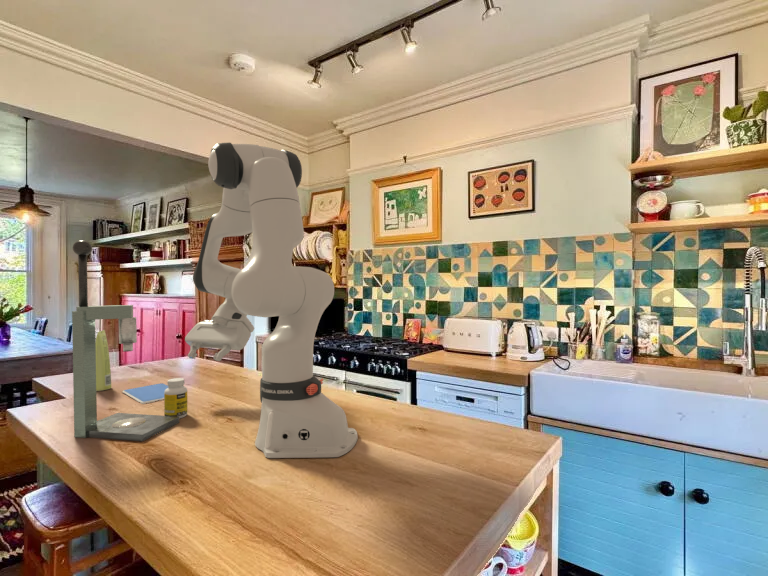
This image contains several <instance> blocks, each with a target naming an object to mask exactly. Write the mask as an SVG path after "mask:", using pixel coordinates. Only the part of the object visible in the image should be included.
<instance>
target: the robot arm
mask: <svg viewBox="0 0 768 576" xmlns="http://www.w3.org/2000/svg"><path fill="white" fill-rule="evenodd" d="M207 165H208V171H209V173H210V177H211V179H212V181H213V182H214V183H215V184H216V185H217V186H218V187H221V188H222V198H221V201H222V202H221V206H220V209H219V211H218V212H216V213H214V214H213V215H211V216H210V218H209V220H208V222H207V225H206V227H205V231H204V234H203V239H202V245H201V248H200V252H199V256H198V261H197V264H196V266H195V269H194V272H193V275H192V280H193V284H194V285H195V288H197V289H196V290H198V291H199V292H203V293H207V294H213V295H215V296H218V297H222V298H225V299H224V301H223V303H221V304H220V305H219V307H217V310H216V311H215V312H214V314H213V315H212V316H211V318H210V319H209V320H208V319H204V320H203V321H200V322H197V323H196V324H195V325H194V326H193V327H192V328H191V329H190V331H189V332H188V333H187V334H186V335H185V337H184V341H185V343H186V344H187V345H188V346H189V347H190V350H189V352H188V354H187V357H188V359H191V360H194V359H196V357H197V356H198V353H197V350H199V349H200V348H203V349H205V348H206V349H218V350H219V351H218V352H215V353H214V355H213V357H212V358H213V360H214V361H217V362H221V361H222V359H223V357H225V356H226V355H228V354H229V353H230V352H231V351H232V350H233V351H236V350H237V351H242V350H243V349H244V348H245V347H246V346H247V343H248V342H249V340H250V337H251V336H252V333H253V332H254V330H255V327H254V325H253V324H252V322H251V320H250V319H249V318H248V317H247V316H252V317H259V318H272V317H278V321H277V323H276V326H275V328H274V329H273V331H272V332H271V333H270V334H269V335H268V336H266V338H265V339H264V341H263V342H262V343H263V344H262V345H261V375H262V376H261V378H260V380H259V381H260V385H259V386H260V387H259V398H260V403H261V406H260V407H261V408H260V419H259V425H258V428H257V429H258V430H257V434H256V438H255V441H254V446H255V447H256V448H257V449H258V450H261V452H263V454H264V456H265V458H266V459H267V458H268V459H291V458H292V459H293V458H294V459H296V458H297V459H299V458H303V459H306V458H310V459H311V458H339V457H341V456H343V455H344V456H345V455H346V454H347V453H348V452H350V451H351V450H352V449H353V448H354V447H355V446H356V444H357V442H358V431H357V430H356V429H355V428H353V427H349V425H348V418H347V415H346V412H345V410H344V409H343V408H342V407H341V406H340V405H338V404H337V403H335V401H333V400H331V399H330V398H329V397H328V396H326V395H325V394H324V393H322V384H324V378H321V379H319V378H317V377H316V376H315V375H314V343H315V338H316V337H315V336H316V332H317V330H318V326H319V323H320V320H321V318H322V315H323V314H324V312H325V310H326V309H327V308H328V307H329V305H331V303H332V301H333V299H334V296H335V284H334V282H333V278H332V277H331V276H330V275H329V274H328V273H327V272H325V271H323V270H321V269H319V268H315V267H311V266H297V265H296V266H294V265H293V262H292V261H293V260H292V259H293V252H294V249H295V248H296V247H297V246H299V245H300V244H301V243H302V242H303V240H304V238H305V229H304V223H303V216H302V211H301V203H300V197H299V193H298V187H300V184H301V182H302V176H303V168H302V163H301V161H300V158H299V157H298V155H297V154H296V153H294V152H291V151H289V150H286V149H281V150H280V149H277V148H273V147H268V146H261V145H259V144H253V143H252V144H251V143H232V142H221V143H220V142H219V143H216V144H215V145H214V146H213V147H212V148H211V150H210V153H209V157H208V162H207ZM249 234H252V248H251V252H250V256H249V258H248V260H247V262H246V264H245V265H244V267H243V268H238V267H233V266H231V265H228V264H225V263H222V262H220V260H219V259H218V258H219V253H220V250H221V245H222V243H223V239H224V238H227V237H228V238H229V237H242V236H246V235H249Z"/></svg>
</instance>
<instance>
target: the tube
mask: <svg viewBox="0 0 768 576" xmlns="http://www.w3.org/2000/svg"><path fill="white" fill-rule="evenodd" d="M95 343H96V392H100V391H107V390H110V389H111V388H112V374H111V373H112V371H111V363H110V362H111V360H110V351H109V344H108V338H107V334H106V329H102V330H100V331H97V334H96V336H95Z"/></svg>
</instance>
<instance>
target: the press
mask: <svg viewBox="0 0 768 576" xmlns="http://www.w3.org/2000/svg"><path fill="white" fill-rule="evenodd" d="M72 250H73V252H74V253H75V255H77V260H78V262H77V263H78V306H76V310H72V311H71V321H72V322H71V326H72V327H71V328H72V329H71V330H72V333H71V334H72V375H73V376H72V380H73V381H72V382H73V385H72V387H73V421H74V422H73V429H74V430H73V433H74V434H73V435H74V438H78V439H79V438H81V439H87V438H93V439H95V438H96V439H105V440H118V441H119V440H120V441H135V442H144V441H146V440H149V439H150V438H152V437H154V436H156V435H158V434H160V433H162V432H164V431H166V430H168V429H170V428H171V427H174V426H175V425H178V424H179V423H180V418H179V417H176V416H164V415H159V414H158V415H157V414H142V413H138V414H137V413H129V412H128V413H127V412H115V413H114V414H111V415H109V416H107V417H103V418H100V419H98V413H97V409H98V407H97V391H96V320H115V319H118V344H120V345H122V351H123V352H125V353H126V352H132V351H134V344H136V343H137V341H138V340H137V339H138V338H137V333H138V331H137V317H136V316H134V304H124V305H122V304H119V305H118V304H116V305H115V304H114V305H113V304H111V305H89V303H88V300H89V293H88V256H89V255H90V254H91V253H92V252H93V246H92V244H91V243H90V242H88V241H87V240H77V241H75V242H74V243H73V244H72ZM163 430H164V431H163ZM161 431H162V432H161ZM159 432H160V433H159ZM157 433H158V434H157ZM155 434H156V435H155ZM153 435H154V436H153ZM151 436H152V437H151Z"/></svg>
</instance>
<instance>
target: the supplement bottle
mask: <svg viewBox="0 0 768 576" xmlns="http://www.w3.org/2000/svg"><path fill="white" fill-rule="evenodd" d="M166 383H167V384H166V385H168V388H167V389H166V390H165V392H164V400H163V401H164V404H163V405H164V407H163V408H164V411H163V413H164V415H163V416H176V417H179V419H182V418H185V417H187V415H188V388H187V386H184V385H185V378H183V377H175V378H170V379H168V380H167V382H166Z"/></svg>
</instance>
